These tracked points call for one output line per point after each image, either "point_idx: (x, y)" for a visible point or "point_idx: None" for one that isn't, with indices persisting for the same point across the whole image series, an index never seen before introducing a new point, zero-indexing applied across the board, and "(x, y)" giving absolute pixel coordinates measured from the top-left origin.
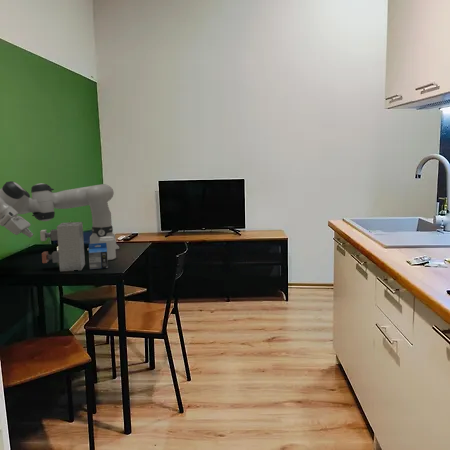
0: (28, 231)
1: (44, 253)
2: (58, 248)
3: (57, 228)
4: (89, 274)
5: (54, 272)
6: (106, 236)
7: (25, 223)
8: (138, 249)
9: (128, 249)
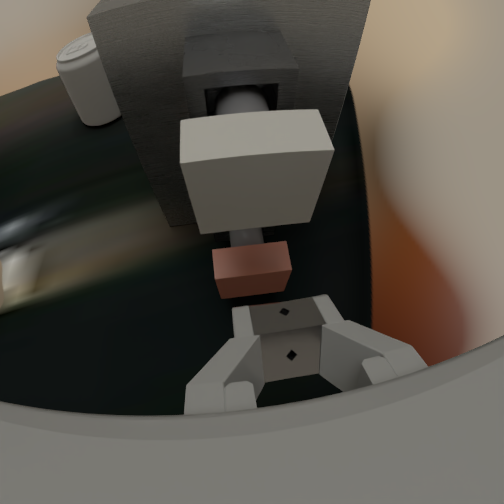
0: (244, 378)
1: (287, 251)
2: (334, 130)
3: (365, 10)
4: (351, 112)
5: (326, 230)
6: (58, 55)
7: (85, 496)
8: (21, 93)
9: (5, 114)
